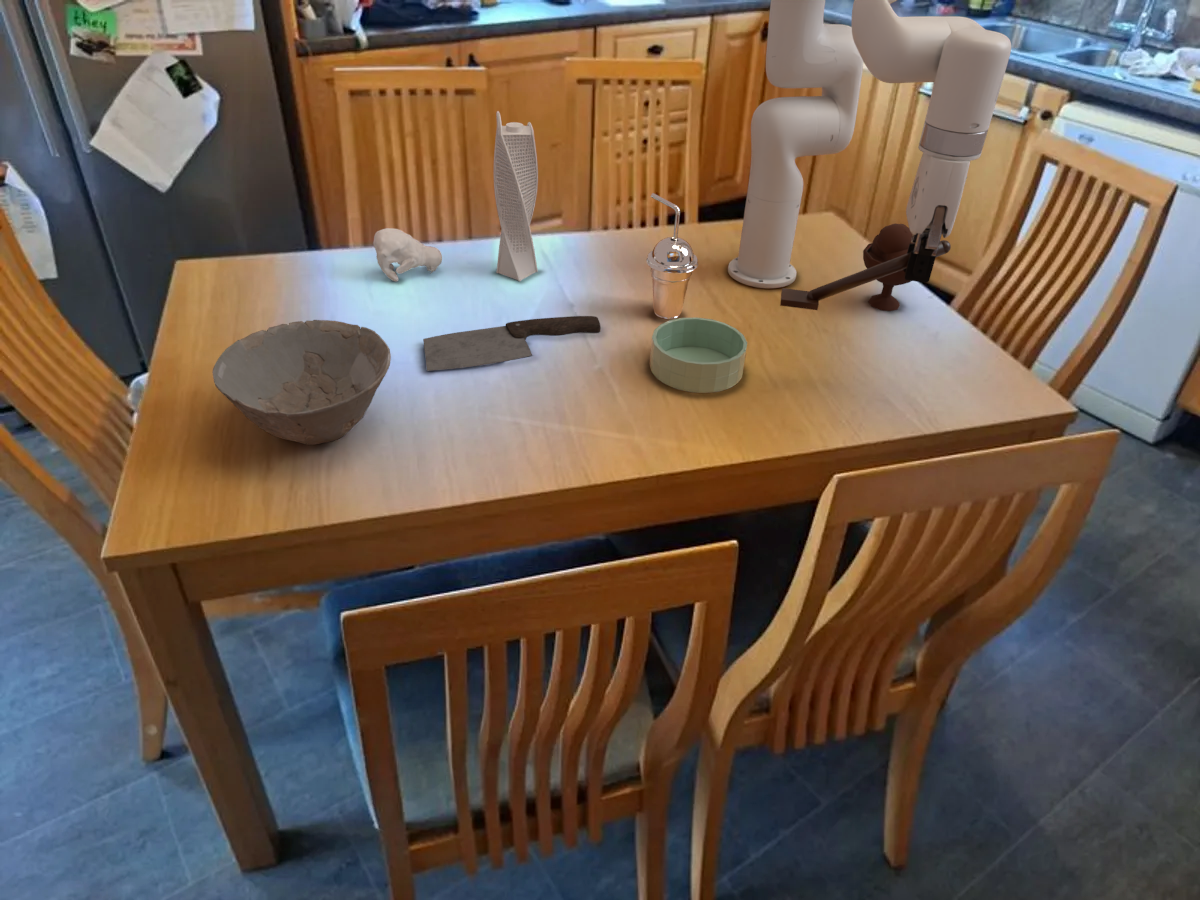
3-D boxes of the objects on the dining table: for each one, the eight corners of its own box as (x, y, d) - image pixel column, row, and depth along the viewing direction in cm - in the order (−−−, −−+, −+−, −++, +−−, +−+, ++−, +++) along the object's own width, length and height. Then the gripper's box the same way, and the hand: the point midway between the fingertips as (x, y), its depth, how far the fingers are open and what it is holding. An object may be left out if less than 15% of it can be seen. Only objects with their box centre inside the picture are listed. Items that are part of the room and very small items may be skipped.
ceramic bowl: (238, 492, 109) (220, 425, 103) (221, 396, 125) (206, 333, 120) (416, 455, 116) (410, 390, 110) (378, 369, 133) (371, 309, 127)
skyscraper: (486, 272, 161) (480, 114, 145) (512, 259, 166) (509, 105, 150) (520, 285, 158) (518, 124, 141) (545, 271, 163) (546, 114, 146)
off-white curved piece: (370, 223, 155) (439, 222, 159) (371, 268, 160) (437, 267, 164) (376, 237, 150) (446, 236, 155) (376, 283, 155) (444, 281, 159)
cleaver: (591, 319, 148) (592, 307, 147) (612, 347, 141) (613, 335, 140) (415, 345, 139) (414, 333, 138) (428, 376, 132) (427, 364, 131)
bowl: (657, 342, 143) (659, 312, 140) (745, 354, 141) (750, 324, 138) (642, 388, 132) (645, 356, 129) (738, 402, 130) (743, 370, 127)
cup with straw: (656, 331, 146) (666, 214, 134) (632, 307, 153) (640, 194, 141) (701, 323, 149) (715, 208, 137) (675, 299, 156) (687, 188, 144)
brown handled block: (780, 305, 125) (793, 228, 119) (781, 294, 128) (794, 218, 122) (931, 324, 122) (954, 247, 116) (928, 312, 125) (950, 236, 119)
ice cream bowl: (918, 321, 153) (941, 239, 144) (852, 313, 154) (871, 231, 145) (913, 294, 161) (935, 215, 152) (851, 287, 163) (869, 208, 154)
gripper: (915, 119, 117) (883, 250, 128) (927, 156, 104) (890, 298, 115) (974, 125, 116) (937, 257, 127) (993, 162, 103) (950, 305, 114)
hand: (915, 275), depth 121 cm, fingers closed on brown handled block
